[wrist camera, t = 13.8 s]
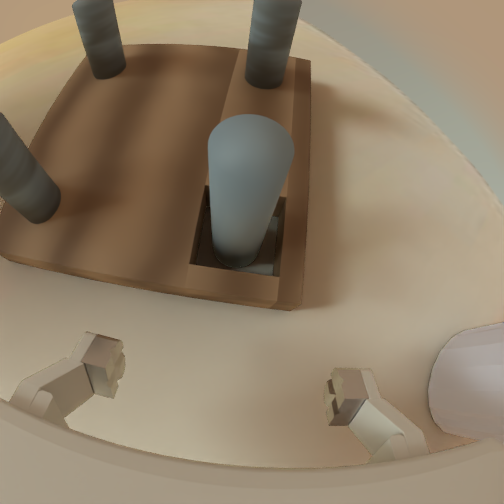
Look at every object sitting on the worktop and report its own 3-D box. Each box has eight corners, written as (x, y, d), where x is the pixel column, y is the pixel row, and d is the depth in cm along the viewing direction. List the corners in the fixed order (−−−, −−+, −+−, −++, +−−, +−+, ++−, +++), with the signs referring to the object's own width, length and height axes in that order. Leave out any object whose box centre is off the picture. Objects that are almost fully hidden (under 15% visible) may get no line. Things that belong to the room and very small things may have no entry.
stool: (10, 260, 19) (-81, 202, 9) (98, 67, 26) (75, -13, 16) (289, 310, 20) (360, 265, 10) (303, 82, 27) (331, -9, 17)
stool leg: (209, 264, 21) (200, 174, 10) (216, 220, 22) (216, 109, 11) (256, 270, 21) (292, 188, 11) (261, 227, 22) (295, 121, 12)
